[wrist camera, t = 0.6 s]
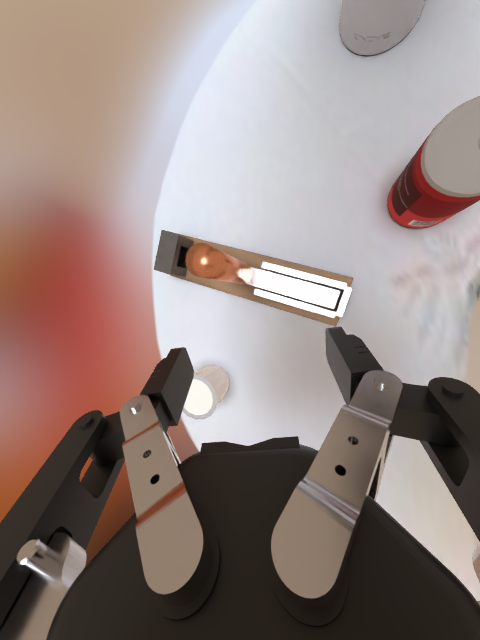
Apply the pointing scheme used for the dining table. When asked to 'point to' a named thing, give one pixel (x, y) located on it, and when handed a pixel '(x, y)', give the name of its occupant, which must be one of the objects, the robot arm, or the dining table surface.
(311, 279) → the guide sleeve
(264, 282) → the sliding bolt with handle
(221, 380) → the beige cylindrical piece
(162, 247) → the socket block
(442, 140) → the canned food
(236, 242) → the dining table surface
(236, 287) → the plank
